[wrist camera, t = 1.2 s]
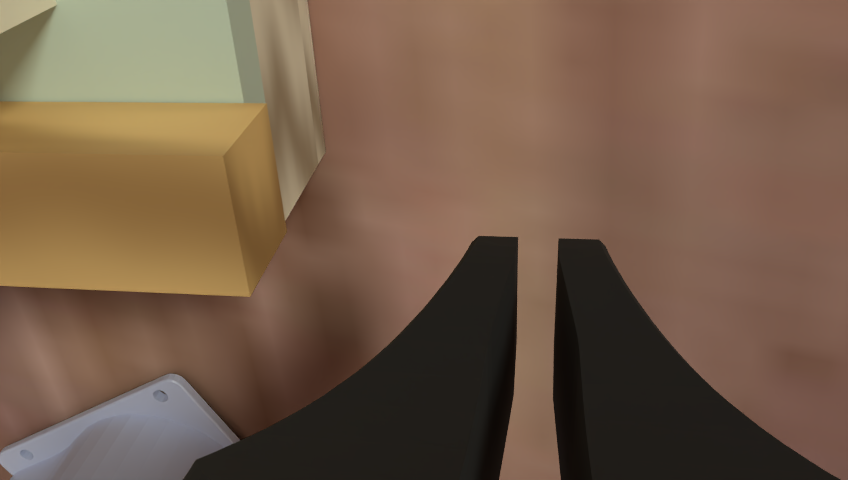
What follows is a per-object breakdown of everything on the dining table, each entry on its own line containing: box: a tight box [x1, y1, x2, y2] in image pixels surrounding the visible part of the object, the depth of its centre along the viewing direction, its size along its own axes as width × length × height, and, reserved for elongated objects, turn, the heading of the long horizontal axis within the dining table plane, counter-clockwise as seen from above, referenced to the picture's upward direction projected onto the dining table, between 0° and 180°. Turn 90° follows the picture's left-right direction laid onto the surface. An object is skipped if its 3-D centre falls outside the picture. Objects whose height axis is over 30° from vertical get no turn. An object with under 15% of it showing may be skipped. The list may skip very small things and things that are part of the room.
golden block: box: [0, 101, 287, 297], centre depth 17 cm, size 3×11×2 cm, turn 93°
